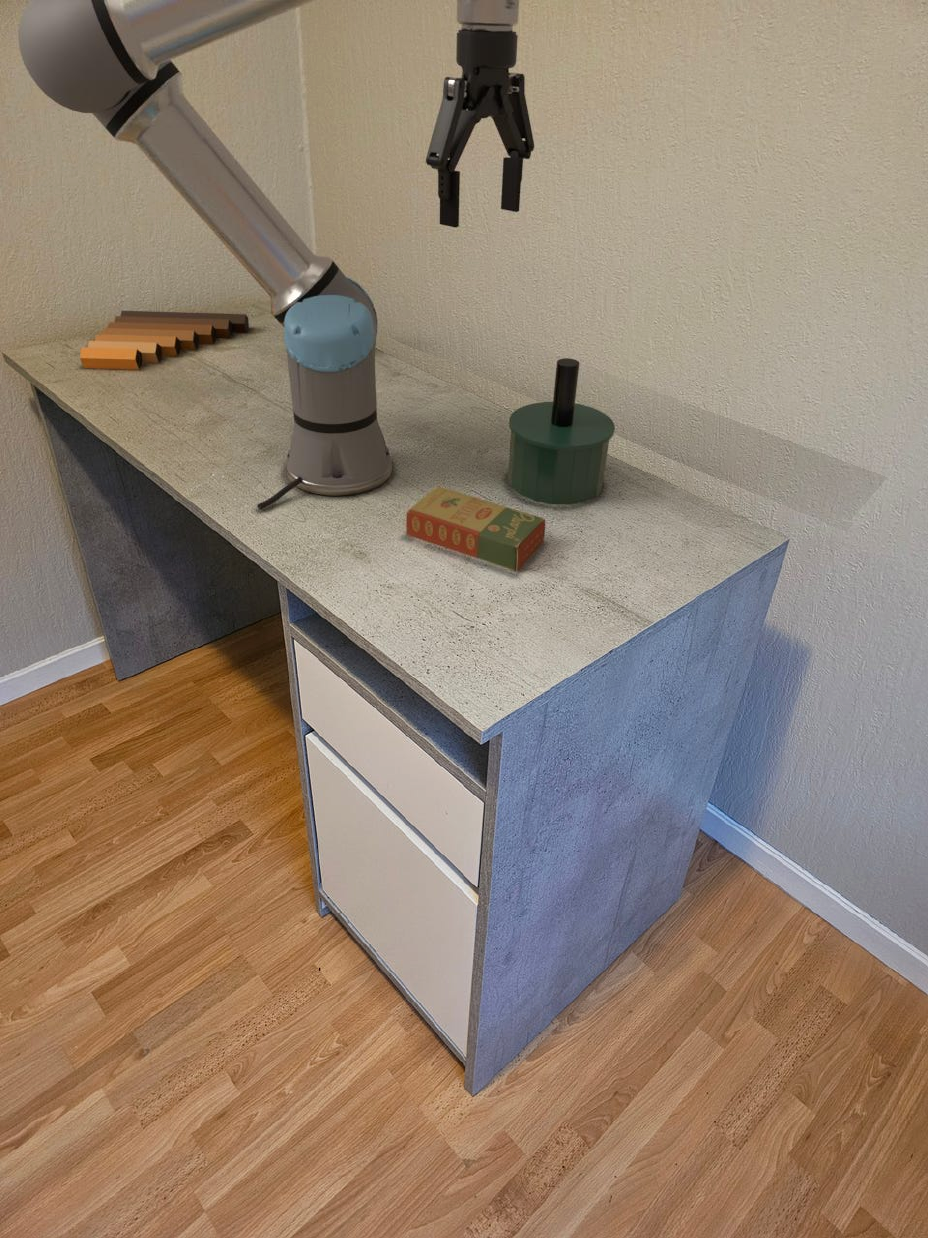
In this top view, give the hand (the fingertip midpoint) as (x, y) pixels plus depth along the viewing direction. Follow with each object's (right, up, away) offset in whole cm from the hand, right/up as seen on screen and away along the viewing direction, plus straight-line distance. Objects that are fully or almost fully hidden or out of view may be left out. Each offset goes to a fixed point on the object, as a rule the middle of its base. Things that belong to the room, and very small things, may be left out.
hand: (480, 217), depth 113 cm
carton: (-1, -46, -7) cm, 46 cm away
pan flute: (-59, -3, +46) cm, 75 cm away
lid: (+11, -29, 0) cm, 31 cm away
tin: (+11, -36, +6) cm, 38 cm away
